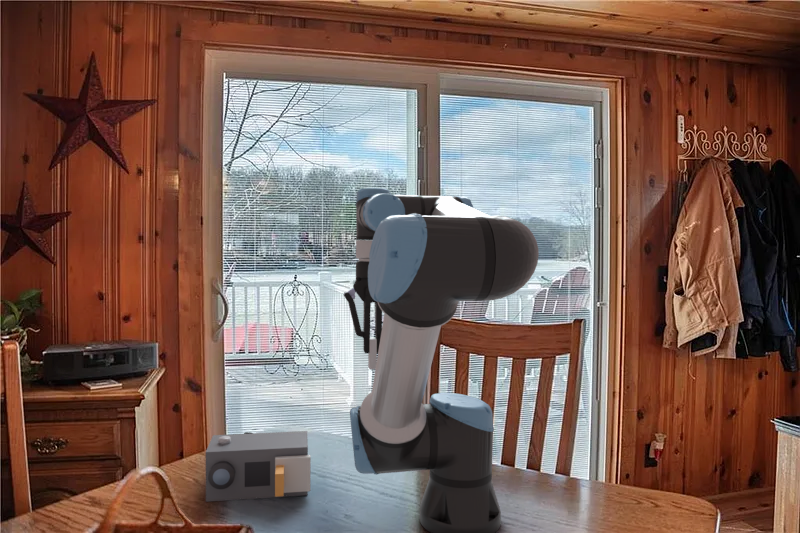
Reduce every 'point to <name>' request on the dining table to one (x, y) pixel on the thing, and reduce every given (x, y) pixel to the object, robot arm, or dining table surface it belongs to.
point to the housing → (249, 464)
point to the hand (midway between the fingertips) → (372, 367)
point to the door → (292, 474)
